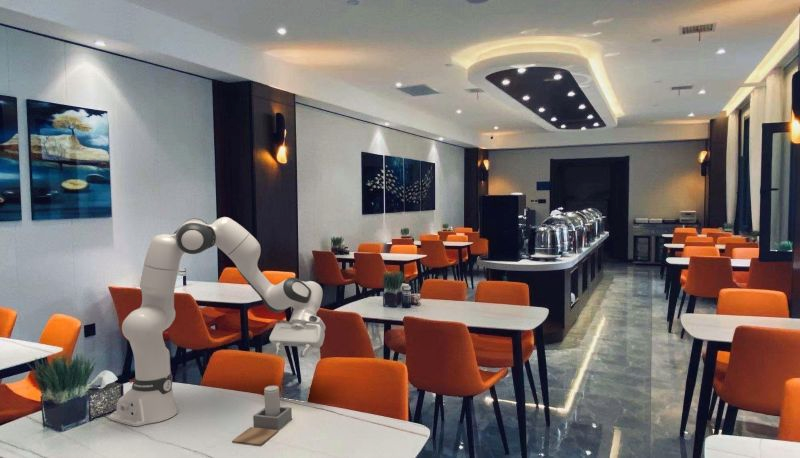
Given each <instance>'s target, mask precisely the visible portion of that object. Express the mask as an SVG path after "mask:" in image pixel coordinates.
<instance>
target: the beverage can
mask: <svg viewBox="0 0 800 458" xmlns="http://www.w3.org/2000/svg"><path fill="white" fill-rule="evenodd" d="M263 393H264V394H263V395H264V396H263V397H264V408H265V416H273V417H277V416H278V415H280V407H281V404H280V403H281V402H280V400H281V399H280V398H281V397H280V388H279V385H268V386H266V387H264V391H263Z"/></svg>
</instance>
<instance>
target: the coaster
mask: <svg viewBox="0 0 800 458" xmlns="http://www.w3.org/2000/svg"><path fill="white" fill-rule="evenodd" d="M278 433H279V430H271V429H263V428H254V426H250V427H249V428H247V429H246V430H244V431H243V432H242V433H241V434H239V435H237V436H236V437H235V438H234V439H232V442H231V443H232V444H240V445H248V446H256V447H262V446H263V445H264V444H266V443H267V442H268V441H269V440H271V438H273V437H274V436H276V434H278Z"/></svg>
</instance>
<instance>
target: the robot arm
mask: <svg viewBox="0 0 800 458" xmlns="http://www.w3.org/2000/svg"><path fill="white" fill-rule="evenodd" d="M212 247H216V248H218V249H219V250H221V251H222V252H223V253H224V254H225V255H226V256H227V257H228V258H229V259H230V260H231V261H232V263H234V265H235V266H236V269H237V271H238V273H239V274H240V276H241V277H242V278H243V279H244V280H245V281H246V282H247V283H248V285H249V286H250V287H251V288H252V289H253V290H254V291H255V292H256V293H257V295H258V296H259V297H260V299H261V301H262V302H263V305H264V307H265V308H267V310H269V311H270V312H272V313H276V314H278V313H279V314H280V313H282V312H284V311H286V310H287V309H288V308H290V307H291V308H292V309H293V310H292V313H291V317H290V319H289V320H287V321H285V320H280V321H279V322H276V323H275V325H274V327H273V329H272V331H271V333H270V335H269V337H268V338H269V342H270V343H271V344H272V346H273V345H274V346H276V353H275V354H276V356H277V357H282V356H283V353H284V352H283V350H282V348H283V347H285V346H290V347H305V348H304V349H303V350H301V351H300V353H299V357H300V358H306V357H307V354H308V353H309V352H310V351H311V350H312V348H320V347H322V346H323V344H324V341H325V336H326V334H325V332H326V328H327V327H326V325H325V323H324V321H323V320H322V319H321V317H319V316H317V313H318V311H319V310H320V307H321V304H322V300H323V296H324V295H323V294H324V293H323V288H322V286H321V285H320V284H319V283H317V282H316V281H312V280H308V281H303V280H300V278H299V279H298V277H297V278H296V277H294V276H293V277H288V278H286V279H285V280H282V281H281V282H280V283H278V284H273V283H271V282H270V281H269V279H268V278H267V277H266V276H265V274H264V273H262V271H261V270H260V268H259V267H258V266H259V265H258V262H259V259H260V256H261V251H262V249H261V244H260V243H259V241H258V240H257V238H255V237H254V236H253V235H252V234H251V233H250V232H249V231H248V230H247V229H246V228H245V227H244V226H243V225H241V224H239V223H238V222H237V221H235V220H233V218H230V217H227V216H223V217H219V218H217V219H216V220H214V222H213V223H211V224H208V223H207V222H206V221H204V220H203V219H201V218H189V219H186V221H184V222H183V223H182V224H181V225H180V226H179V227H178V228H177V229H176V230H175V231H174V233H173V234H168V233H162V234H157V235H156V236H154V237H153V238H152V239H151V242H150V244H149V246H148V249H147V252H146V255H145V259H144V263H143V268H142V272H141V277H140V282H139V289H140V290H141V298H142V299H141V300H142V301H141V305H140V307H138V308H137V309H134V310H132V311H131V312H130V313H129V314H128V315H127V316H126V317H125V318H124V320H123V321H122V324H121V331H122V334H123V336H124V337H125V338H126V339H127V341H128V342H129V344H130V347H131V350H132V354H133V359H134V373H135V376H134V378H132V379H129V381H128V382H129V384H132V386H131V388H130V389H129V390H128V391H126V392H125V393H123V395H122V396H121V397H120V398H119V399H118V400H117V403H116V410H114V411H113V412H112V413H111V414H110V415H109V416H108V419H109V420H110V421H113V422H114V421H115V422H118V423H121V424H125V425H128V426H133V427H140V426H144V425H149V424H156V423H159V422H163V421H166V420H168V419H171V418H172V417H174V416H175V415H176V414H178V408H177V404H176V401H175V397H174V392H173V374H172V371H171V358H170V357H171V356H170V350H169V349H168V348H167V347H166V344H165V341H164V336H163V334H164V333H163V332H164V331H166V330H167V329H168V328H170V327H171V325H172V324H173V323H174V321H175V318H176V310H175V287H176V284H177V277H178V271H179V268H180V264H181V259H182V257H183V254H184V253H185V254H189V255H197V254H200V253H201V254H202V252H204V251H206V250H208V249H210V248H212Z"/></svg>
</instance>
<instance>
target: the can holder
mask: <svg viewBox="0 0 800 458" xmlns="http://www.w3.org/2000/svg"><path fill="white" fill-rule="evenodd" d="M292 412H293V411H292V407H290V406H280V415H278V416H277V417H273V416H265V407H263V408H261V409H260V410H259V411H258V412H256V413H255V414H254V415H253V416H252V418H253V419H252V420H253V421H252V422H253V427H254V428H263V429H271V430H278V431H280V430H281V429H282V428H283V427H285V426H286V425H287V424H288V423H289V422H290V421H292V420H293V418H292V417H293V414H292Z"/></svg>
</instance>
